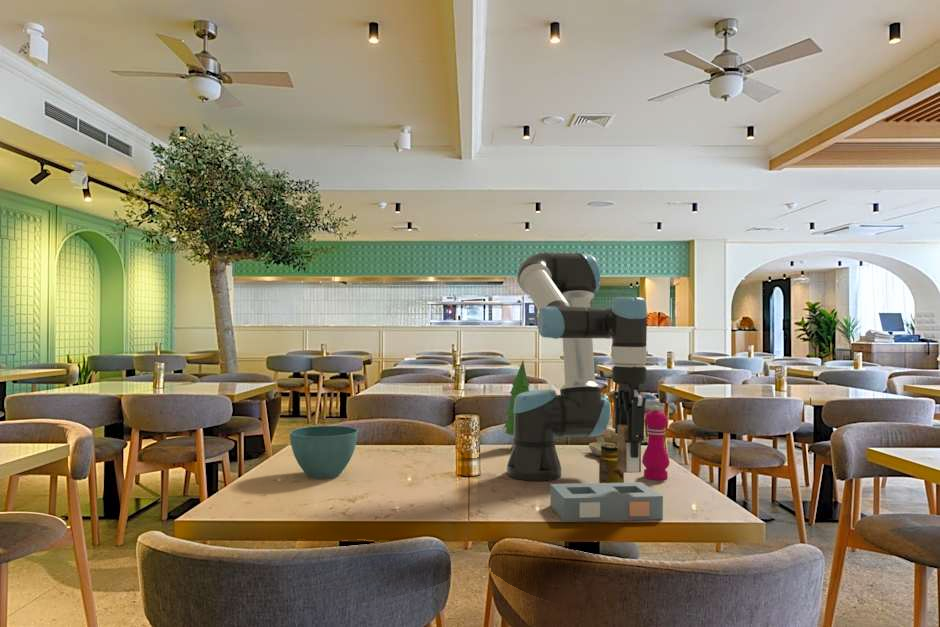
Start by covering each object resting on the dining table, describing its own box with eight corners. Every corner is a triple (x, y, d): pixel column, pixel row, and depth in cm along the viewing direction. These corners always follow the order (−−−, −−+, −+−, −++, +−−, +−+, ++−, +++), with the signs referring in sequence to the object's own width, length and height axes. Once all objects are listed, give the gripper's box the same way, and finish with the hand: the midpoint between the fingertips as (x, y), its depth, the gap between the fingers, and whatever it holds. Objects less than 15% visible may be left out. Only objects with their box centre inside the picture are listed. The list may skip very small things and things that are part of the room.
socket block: (564, 522, 134) (564, 499, 134) (550, 505, 147) (550, 484, 147) (663, 520, 137) (664, 496, 137) (641, 503, 149) (641, 482, 149)
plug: (623, 472, 140) (623, 427, 141) (617, 468, 144) (617, 424, 145) (640, 472, 141) (641, 427, 141) (634, 468, 145) (634, 424, 145)
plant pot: (276, 475, 173) (276, 430, 173) (332, 464, 186) (332, 423, 186) (313, 487, 160) (314, 439, 160) (370, 475, 174) (371, 430, 174)
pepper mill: (670, 481, 171) (671, 407, 171) (643, 479, 172) (643, 406, 173) (667, 475, 178) (668, 403, 178) (641, 473, 179) (641, 403, 180)
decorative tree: (538, 448, 213) (538, 359, 214) (521, 452, 206) (522, 360, 206) (515, 444, 220) (516, 358, 220) (498, 448, 212) (499, 359, 213)
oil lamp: (611, 449, 214) (611, 420, 214) (622, 463, 193) (622, 430, 193) (585, 449, 214) (585, 419, 215) (593, 462, 193) (593, 430, 193)
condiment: (630, 496, 155) (630, 447, 155) (598, 498, 153) (598, 449, 153) (616, 489, 162) (617, 442, 162) (586, 490, 160) (586, 443, 160)
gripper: (660, 368, 135) (660, 477, 135) (631, 363, 152) (630, 461, 151) (627, 367, 134) (626, 478, 134) (601, 363, 151) (600, 461, 151)
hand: (628, 469), depth 143 cm, fingers closed on plug, 4 cm apart
